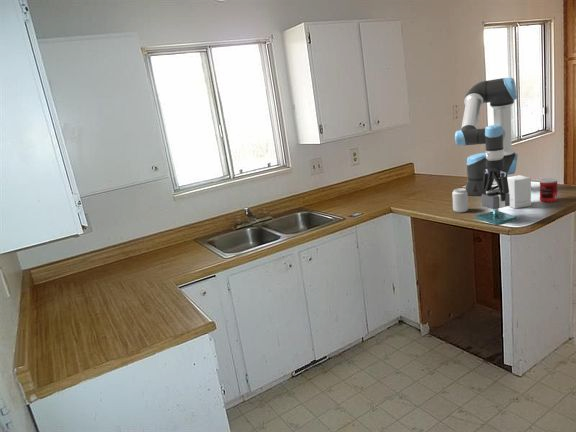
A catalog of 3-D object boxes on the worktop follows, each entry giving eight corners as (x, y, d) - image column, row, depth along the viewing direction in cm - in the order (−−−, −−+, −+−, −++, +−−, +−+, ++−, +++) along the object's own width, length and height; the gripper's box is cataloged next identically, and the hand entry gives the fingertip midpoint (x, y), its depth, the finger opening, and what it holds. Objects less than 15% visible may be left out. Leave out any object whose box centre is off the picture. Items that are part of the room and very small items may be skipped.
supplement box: (531, 206, 217) (531, 177, 213) (514, 209, 217) (514, 180, 213) (520, 202, 226) (520, 174, 222) (504, 205, 226) (503, 177, 222)
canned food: (552, 197, 225) (552, 177, 222) (560, 201, 217) (560, 180, 215) (536, 199, 226) (537, 179, 223) (544, 203, 218) (544, 182, 216)
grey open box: (481, 206, 208) (481, 194, 206) (497, 202, 210) (497, 190, 208) (493, 209, 200) (493, 197, 199) (509, 205, 202) (509, 193, 201)
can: (450, 210, 230) (449, 189, 227) (464, 208, 231) (463, 186, 228) (457, 213, 223) (456, 191, 220) (470, 211, 223) (470, 189, 220)
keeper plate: (475, 218, 212) (475, 199, 210) (496, 213, 215) (496, 195, 212) (495, 224, 199) (494, 205, 197) (517, 219, 201) (517, 200, 199)
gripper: (473, 158, 208) (474, 202, 214) (503, 162, 189) (504, 211, 194) (486, 155, 210) (487, 200, 216) (518, 159, 190) (518, 208, 196)
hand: (495, 205), depth 205 cm, fingers closed on grey open box, 8 cm apart
